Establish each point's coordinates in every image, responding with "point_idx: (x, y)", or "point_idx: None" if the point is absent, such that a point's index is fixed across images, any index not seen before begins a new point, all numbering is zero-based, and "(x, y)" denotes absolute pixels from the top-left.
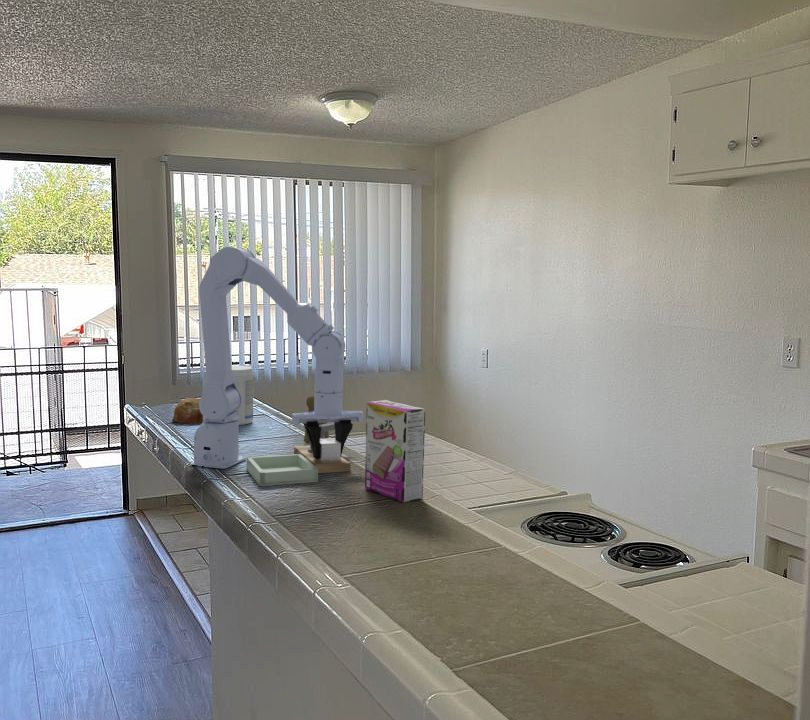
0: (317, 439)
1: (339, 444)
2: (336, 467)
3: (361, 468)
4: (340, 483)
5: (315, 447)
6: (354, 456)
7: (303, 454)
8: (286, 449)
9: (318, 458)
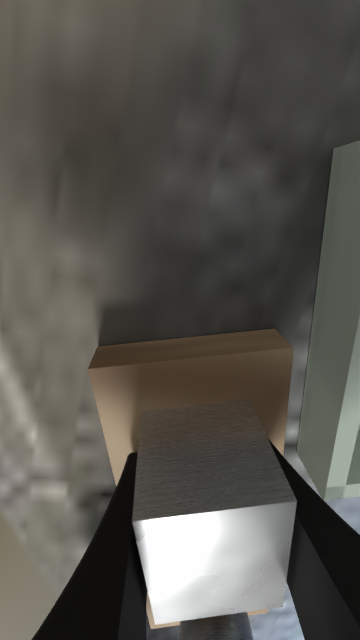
0: (341, 552)
1: (144, 506)
2: (174, 350)
3: (33, 385)
4: (213, 63)
5: (312, 490)
6: (48, 547)
7: None
8: None
9: None
